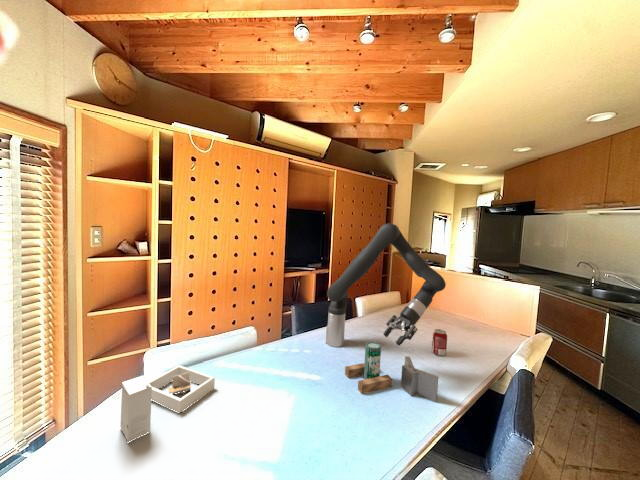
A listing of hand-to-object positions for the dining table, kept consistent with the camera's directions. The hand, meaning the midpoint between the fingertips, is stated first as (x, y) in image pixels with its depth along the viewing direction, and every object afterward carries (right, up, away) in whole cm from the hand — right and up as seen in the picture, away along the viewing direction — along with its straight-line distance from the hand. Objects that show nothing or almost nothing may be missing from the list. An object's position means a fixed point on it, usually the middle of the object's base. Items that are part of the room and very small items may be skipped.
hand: (390, 339), depth 113 cm
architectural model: (-82, -14, -16) cm, 85 cm away
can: (-9, -16, -3) cm, 19 cm away
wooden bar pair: (-11, -16, -3) cm, 19 cm away
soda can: (+31, -16, +23) cm, 42 cm away
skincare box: (-86, -15, -34) cm, 94 cm away
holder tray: (-83, -14, -16) cm, 85 cm away
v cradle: (+7, -17, -8) cm, 20 cm away
